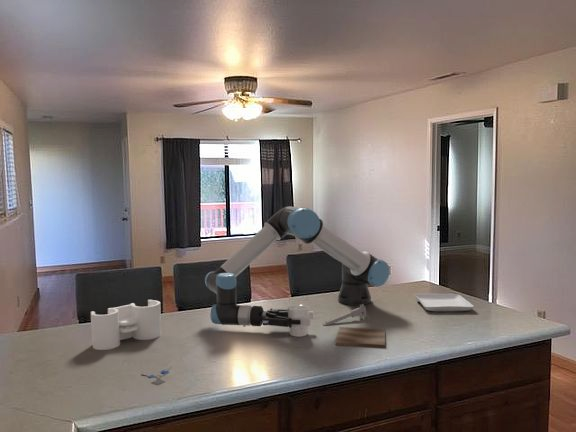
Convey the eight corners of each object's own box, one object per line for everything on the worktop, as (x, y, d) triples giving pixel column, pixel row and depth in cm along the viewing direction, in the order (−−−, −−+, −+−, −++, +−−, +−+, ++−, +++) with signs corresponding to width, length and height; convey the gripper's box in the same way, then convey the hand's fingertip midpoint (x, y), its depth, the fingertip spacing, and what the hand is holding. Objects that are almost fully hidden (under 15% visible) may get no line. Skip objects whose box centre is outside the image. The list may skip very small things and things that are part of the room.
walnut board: (339, 329, 186) (339, 326, 186) (384, 331, 182) (384, 329, 182) (335, 344, 169) (335, 342, 169) (385, 347, 166) (385, 344, 166)
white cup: (294, 338, 176) (294, 311, 175) (284, 332, 183) (284, 306, 182) (313, 335, 179) (313, 308, 178) (302, 329, 186) (302, 303, 185)
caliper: (364, 318, 201) (364, 303, 200) (366, 318, 200) (366, 303, 199) (322, 325, 191) (322, 310, 191) (324, 326, 190) (323, 310, 190)
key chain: (164, 386, 138) (164, 384, 138) (134, 388, 137) (134, 385, 137) (172, 367, 152) (172, 364, 152) (145, 368, 151) (145, 365, 151)
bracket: (99, 352, 164) (98, 317, 163) (88, 345, 171) (87, 311, 170) (166, 335, 181) (165, 303, 180) (154, 329, 188) (153, 298, 187)
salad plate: (475, 313, 206) (475, 305, 205) (424, 314, 206) (425, 306, 206) (458, 300, 227) (458, 293, 226) (412, 301, 227) (412, 293, 227)
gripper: (258, 317, 194) (315, 320, 190) (244, 334, 174) (307, 337, 170) (258, 299, 193) (315, 301, 189) (243, 313, 173) (307, 316, 169)
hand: (311, 318), depth 180 cm, fingers closed on white cup, 8 cm apart
